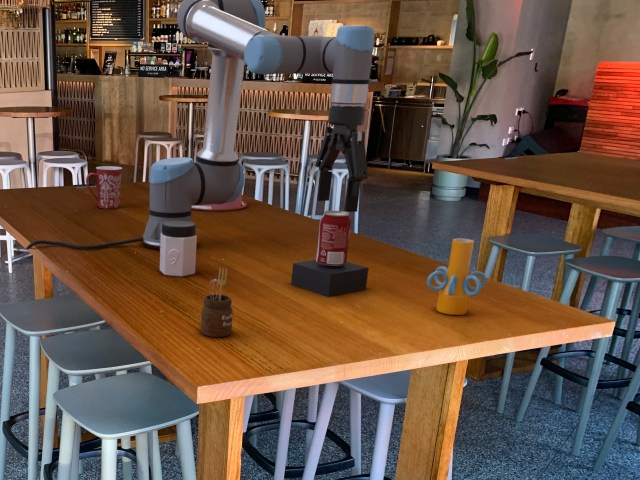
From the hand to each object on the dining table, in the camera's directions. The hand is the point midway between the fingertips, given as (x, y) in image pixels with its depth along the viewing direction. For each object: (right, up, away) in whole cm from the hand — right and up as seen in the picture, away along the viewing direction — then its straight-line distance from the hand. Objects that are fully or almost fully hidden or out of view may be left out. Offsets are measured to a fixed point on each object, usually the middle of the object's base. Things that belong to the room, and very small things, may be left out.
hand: (336, 206), depth 176 cm
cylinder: (+21, -25, -10) cm, 34 cm away
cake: (-16, +24, +108) cm, 112 cm away
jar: (-34, -12, +18) cm, 41 cm away
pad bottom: (0, -17, +7) cm, 19 cm away
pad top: (0, -15, +6) cm, 16 cm away
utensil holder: (-30, -30, -24) cm, 49 cm away
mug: (-55, +22, +102) cm, 118 cm away
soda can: (0, -13, +5) cm, 14 cm away
